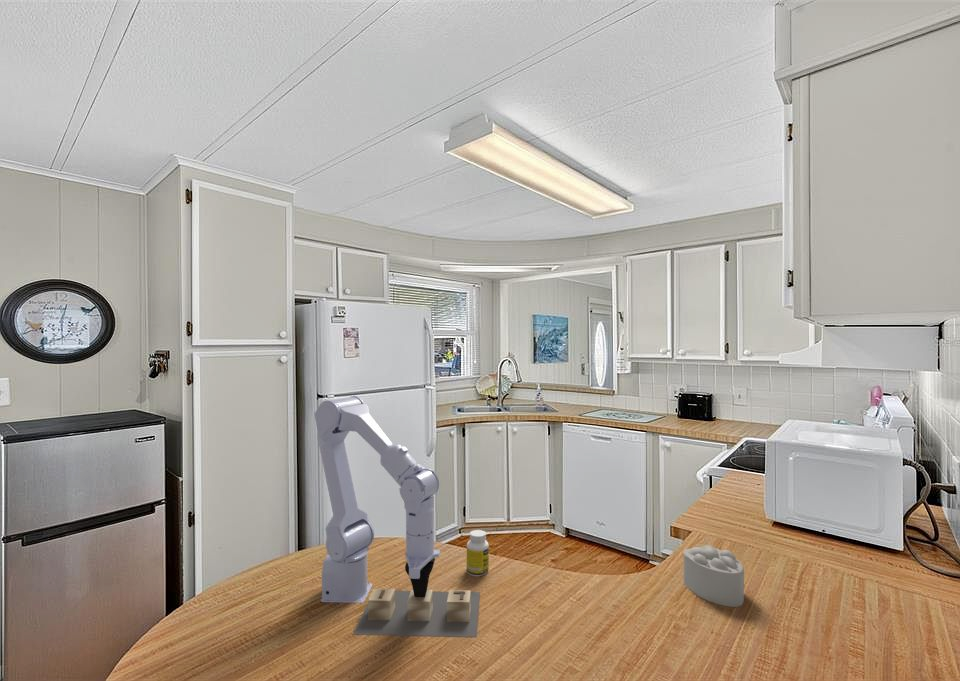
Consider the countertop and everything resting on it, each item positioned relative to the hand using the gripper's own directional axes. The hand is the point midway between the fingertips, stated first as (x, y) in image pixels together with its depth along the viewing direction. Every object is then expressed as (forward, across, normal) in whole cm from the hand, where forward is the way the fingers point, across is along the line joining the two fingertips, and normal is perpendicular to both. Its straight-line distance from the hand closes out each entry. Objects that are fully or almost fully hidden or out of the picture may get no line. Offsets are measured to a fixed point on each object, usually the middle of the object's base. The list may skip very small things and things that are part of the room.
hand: (420, 596), depth 99 cm
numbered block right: (+4, 0, -8) cm, 9 cm away
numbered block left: (+4, 0, +8) cm, 9 cm away
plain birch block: (+4, 0, 0) cm, 4 cm away
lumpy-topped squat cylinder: (+5, +13, -65) cm, 67 cm away
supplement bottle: (+5, +19, -11) cm, 22 cm away
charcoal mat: (+4, +1, 0) cm, 5 cm away
